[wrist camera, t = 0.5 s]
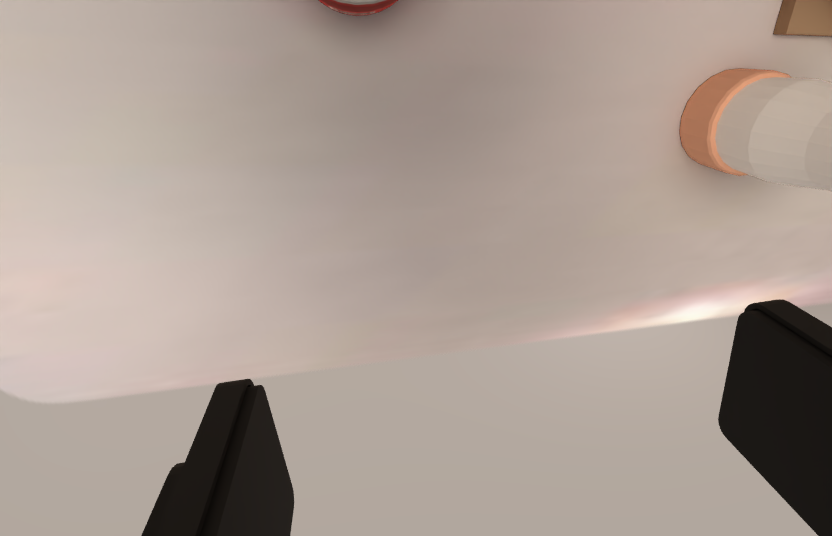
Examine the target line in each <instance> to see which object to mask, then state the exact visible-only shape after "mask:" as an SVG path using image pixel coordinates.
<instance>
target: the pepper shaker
mask: <svg viewBox="0 0 832 536" xmlns="http://www.w3.org/2000/svg"><path fill="white" fill-rule="evenodd" d="M680 137H681V142H682V146H683V148H684V149H685V151H686V153H687V154H688V156H689V157H690V158H692V159H693V160H695V161H696V162H697V163H699V164H702V165H705V166H708V167H711V168H714V169H716V170H719V171H722V172H725V173H729V174H734V175H738V176H742V175H751V176H753V177H756V178H759V179H761V180H764V181H767V182H772V183H776V184H782V185H790V186H798V187H806V188H814V189H822V190H828V191H832V82H828V81H824V80H821V79H815V78H792V77H790V76H789V75H788V74H785V73H781V72H778V71H774V70H757V69H732V70H725V71H723V72H721V73H718V74H716V75H714V76H712V77H710V78H709V79H708V80H707V81H705V82H704V83H703V84H702V85H701V86H699V87H698V88H697V90H696V91H695V92H694V94H693V95H692V97H691V98H690V99H689V101H688V102H687V105H686V107H685V110H684V112H683V115H682V117H681V125H680Z"/></svg>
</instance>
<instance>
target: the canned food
mask: <svg viewBox="0 0 832 536" xmlns="http://www.w3.org/2000/svg"><path fill="white" fill-rule="evenodd" d="M319 1H320V2H321V3H323V4H324V5H326V6H328V7H329V8H331V9H333V10H335V11H338V12H340V13H343V14H349V15H355V16H359V15H370V14H373V13H377V12H380V11H382V10H384V9H386V8H388V7H390V6H391V5H393V4H394V3H395V2H396V1H398V0H319Z"/></svg>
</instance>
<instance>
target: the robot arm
mask: <svg viewBox="0 0 832 536" xmlns="http://www.w3.org/2000/svg"><path fill="white" fill-rule="evenodd" d="M718 420H719V426H720V429H721V431H722V432H723V434H724V436H725V437H726V438H727V439H728V440H729V441H730V442H731V443H732V444H733V446H734V447H735V448H736V449H737V450H738V451H739V452H740V453H741V454H742V455H743V456H744V457H745V458H746V459H747V460H748V461H749V462H750V464H752V466H753V467H754V468H755V469H756V470H757V471H758V472H759V473H760V474H761V475H762V476H763V477H764V478H765V480H766V481H767V482H768V483H769V484H770V485H771V486H772V487H773V488H774V489H775V490H776V491H777V492H778V493H779V494H780V495H781V497H782V498H784V500H786V502H787V503H788V504H789V505H790V506H791V507H792V508H793V509H794V510H795V511H796V512H797V513H798V515H799V516H800V517H801V518H802V519H803V520H804V521H805V522H806V523H807V524H808V525H809V526H810V527H811V528H812V529H813V530H814V532H816V534H817V535H818V536H832V327H830V326H828V325H827V324H825V323H823V322H822V321H820V320H818V319H817V318H815V317H813V316H812V315H810V314H808V313H807V312H805V311H803V310H802V309H800V308H798V307H797V306H795V305H793V304H792V303H790V302H788V301H785V300H772V301H765V302H759V303H752V304H750V305H748V306H747V307H746V309H745V311H744V313H741V315H740V316H739V318H738V321H737V326H736V331H735V336H734V341H733V346H732V351H731V356H730V362H729V367H728V372H727V377H726V382H725V387H724V392H723V397H722V402H721V407H720V412H719V419H718ZM293 509H294V494H293V488H292V484H291V480H290V477H289V473H288V470H287V466H286V463H285V459H284V456H283V452H282V449H281V445H280V442H279V438H278V435H277V431H276V428H275V424H274V421H273V417H272V414H271V410H270V407H269V403H268V400H267V396H266V393H265V390H264V387H263V386H262V385H257V386H254V384H253V382H252V381H251V380H250V379H244V380H238V381H231V382H224V383H219V384H217V386H216V388H215V390H214V392H213V395H212V398H211V400H210V402H209V405H208V407H207V409H206V412H205V414H204V417H203V419H202V422H201V424H200V427H199V429H198V432H197V434H196V437H195V439H194V441H193V444H192V446H191V449H190V451H189V454H188V456H187V458H186V461H185V463H179V464H176V465H175V466H174V467H173V468H172V469H171V471H170V473H169V474H168V476H167V478H166V481H165V483H164V486H163V488H162V490H161V492H160V494H159V497H158V499H157V501H156V503H155V506H154V508H153V510H152V513H151V515H150V517H149V520H148V522H147V525H146V526H145V529H144V531H143V533H142V536H290V532H291V525H292V517H293Z"/></svg>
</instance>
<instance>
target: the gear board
mask: <svg viewBox="0 0 832 536" xmlns="http://www.w3.org/2000/svg"><path fill="white" fill-rule="evenodd" d="M773 34H781V35H809V36H832V0H783V2H782V6H781V9H780V12H779V16H778V19H777V23H776V26H775V30H774V33H773Z"/></svg>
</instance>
